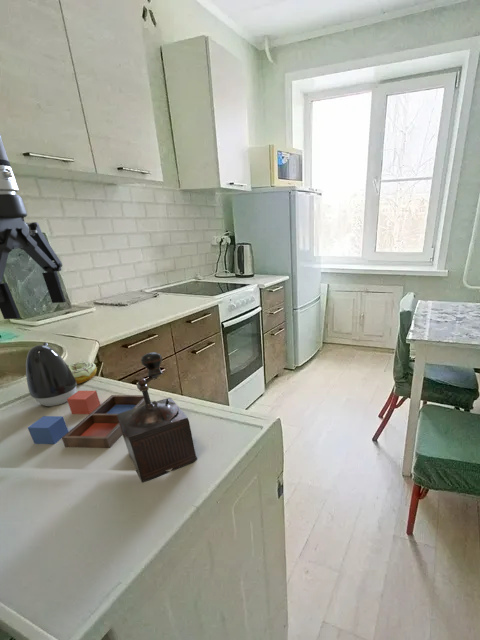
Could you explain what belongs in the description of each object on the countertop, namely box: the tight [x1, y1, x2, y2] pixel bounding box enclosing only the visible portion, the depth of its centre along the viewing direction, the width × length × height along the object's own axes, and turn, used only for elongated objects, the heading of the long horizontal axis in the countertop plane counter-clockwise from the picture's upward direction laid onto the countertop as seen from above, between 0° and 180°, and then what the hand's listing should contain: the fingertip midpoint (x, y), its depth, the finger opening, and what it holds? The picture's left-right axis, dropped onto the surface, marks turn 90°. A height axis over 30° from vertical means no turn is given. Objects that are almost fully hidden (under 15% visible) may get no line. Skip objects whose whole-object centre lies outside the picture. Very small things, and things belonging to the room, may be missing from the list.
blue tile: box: [106, 405, 136, 414], centre depth 82 cm, size 7×7×1 cm
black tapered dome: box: [25, 342, 78, 407], centre depth 88 cm, size 10×10×15 cm
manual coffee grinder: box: [117, 351, 198, 483], centre depth 65 cm, size 16×11×18 cm
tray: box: [61, 394, 145, 449], centre depth 78 cm, size 10×18×3 cm, turn 175°
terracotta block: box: [67, 390, 101, 415], centre depth 84 cm, size 4×4×4 cm
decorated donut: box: [67, 361, 98, 385], centre depth 103 cm, size 10×11×4 cm
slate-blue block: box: [27, 415, 70, 445], centre depth 73 cm, size 4×4×4 cm
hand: (37, 309), depth 73 cm, fingers open, 13 cm apart
